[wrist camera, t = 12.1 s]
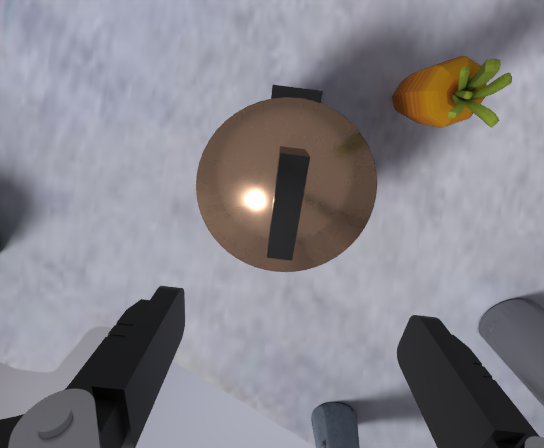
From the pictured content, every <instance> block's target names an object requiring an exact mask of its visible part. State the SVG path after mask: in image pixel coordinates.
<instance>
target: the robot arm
mask: <svg viewBox="0 0 544 448" xmlns="http://www.w3.org/2000/svg"><path fill="white" fill-rule="evenodd" d="M184 327H185V300H184V289H183V288H176V287H167V286H160V287H159V288H158V289H157V291H156V292H155V294H154V295H153V296H152V298H151V299H150V300H142V299H141V300H140V301H138V302H137V303H135V304H134V305H133V306H131V307H130V308H128V309H127V310H126V311H125V312H124V314H123V315H122V316H121V318H120V319H119V320H118V322H117V324H116V325H115V326H114V327H113V328H112V329H111V331H110V332H109V333H108V337H105V339H104V340H103V341H102V343H101V344H100V345H99V346H98V348H97V349H96V350H95V352H94V353H93V354H92V356H91V357H90V358H89V359H88V361H87V362H86V363H85V365H84V366H83V367H82V369H81V370H80V371H79V373H78V374H77V375H76V376H75V378H74V379H73V380H72V382H71V383H70V384H69V385H68V387H67V388H66V389H65V390H63V391H60V392H57V393H54V394H52V395H50V396H48V397H46V398H45V399H43V400H41V401H40V402H38V403H37V404H35V405H34V406H33V407H32V408H31V409H30V410H28V411H27V412H26V413H25V414H23V415H19V416H16V417H11V418H7V419H1V420H0V448H135V447H136V445H137V442H138V440H139V437H140V435H141V433H142V431H143V428H144V426H145V423H146V421H147V419H148V417H149V414H150V412H151V410H152V407H153V405H154V402H155V400H156V398H157V396H158V393H159V391H160V388H161V386H162V384H163V382H164V379H165V377H166V374H167V372H168V370H169V367H170V365H171V363H172V360H173V358H174V356H175V353H176V351H177V349H178V346H179V344H180V342H181V339H182V336H183V332H184ZM479 333H480V335H481V336H482V337H483V339H484V340H485V341H486V342H487V343H488V344H489V345H490V346H491V348H492V349H493V350H494V351H495V352H496V353H497V354H498V355H499V357H500V358H501V359H502V360H503V361H504V362H505V364H506V365H507V366H508V367H509V368H510V369H511V370H512V371H513V373H514V374H515V375H516V376H517V377H518V378H519V379H520V380H521V382H522V383H523V384H524V385H525V386H526V387H527V388H528V389H529V391H530V392H531V393H532V394H533V395H534V396H535V397H536V398H537V400H538V401H539V402H540V403H541V404H542V405H543V406H544V309H542V308H541V307H540V306H538V305H537V304H535V303H534V302H532V301H529V300H525V299H514V300H509V301H505V302H502V303H500V304H498V305H496V306H494V307H493V308H491V309H490V310H489V311H488V312H487V313H486V314H485V315H484V316H483V317H482V319H481V321H480V323H479ZM397 359H398V363H399V366H400V368H401V370H402V372H403V374H404V376H405V379H406V381H407V383H408V385H409V387H410V389H411V392H412V394H413V396H414V398H415V400H416V402H417V404H418V407H419V409H420V411H421V413H422V415H423V417H424V419H425V422H426V424H427V426H428V428H429V430H430V432H431V435H432V437H433V439H434V441H435V443H436V445H437V447H438V448H544V438H543V437H540V436H539V435H538V434H537V433H536V431H535V430H534V429H533V428H532V426H531V425H530V424H529V423H528V421H527V420H526V419H525V418H524V416H523V415H522V414H521V413H520V411H519V410H518V409H517V407H516V406H515V405H514V404H513V402H512V401H511V400H510V399H509V397H508V396H507V395H506V394H505V392H504V391H503V390H502V389H501V387H500V386H499V385H498V383H497V382H496V381H495V380H493V379H492V376H491V375H490V373H489V372H488V371H487V370H486V368H485V367H482V363H481V362H480V361H479V359H478V358H477V357H476V356H475V354H474V353H473V352H472V351H471V349H470V348H469V347H467V346H466V345H465V344H464V343H463V342H461V341H460V340H459V339H458V338H457V337H455V336H454V335H451V334H450V332H449V331H448V330H447V328H446V327H445V326H444V324H443V323H442V322H441V321H440V320H439V319H438V318H436V317H427V316H418V315H413V316H411V317H410V319H409V321H408V323H407V326H406V328H405V330H404V333H403V335H402V338H401V340H400V342H399V345H398V348H397Z"/></svg>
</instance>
